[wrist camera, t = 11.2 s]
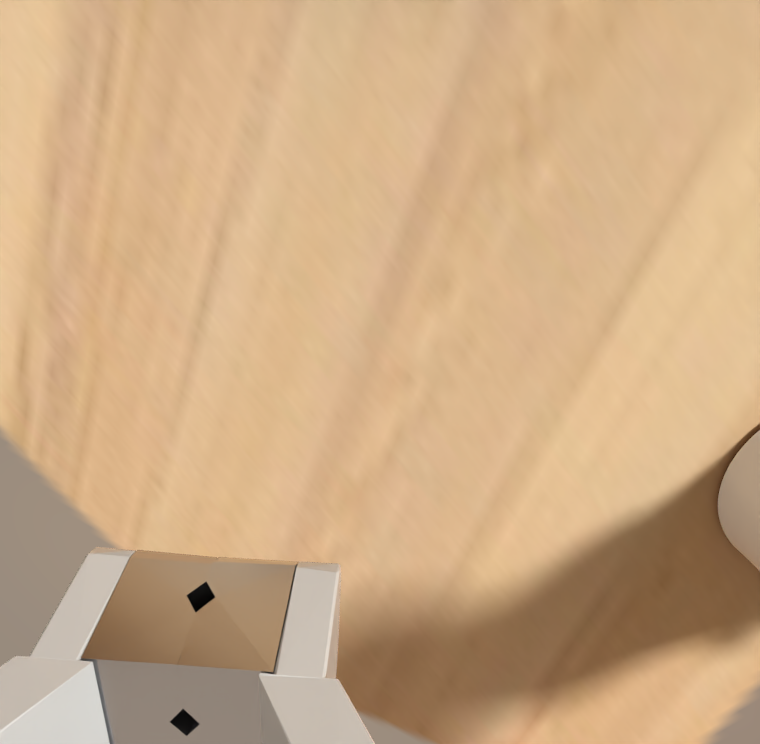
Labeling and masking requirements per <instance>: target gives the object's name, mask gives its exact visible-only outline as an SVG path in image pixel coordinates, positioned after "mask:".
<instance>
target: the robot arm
mask: <svg viewBox="0 0 760 744" xmlns="http://www.w3.org/2000/svg"><path fill="white" fill-rule="evenodd" d="M718 515H719V520H720V523H721V526H722V529H723V531H724V533H725V535H726V537H727V538H728V540H729V541H730V542H731V544H732V545H733V546H734V547H735V548H736V549H737V550H738V551H739V552H740V553H741V554H742V555H744V556H745V557H746V558H747V559H748V560H749V561H750V562H751V563H752V564H753V565H754V566H755V567H756V568H757V569H758V570H759V571H760V430H759V431H758V432H757V433H755V434H754V435H753V436H752V437H751V438H750V439H749V440H748V441H747V442H746V443H745V444H744V446H743V447H742V448H741V449H740V450H739V452H738V453H737V454H736V456H735V457H734V459H733V460H732V462H731V463H730V465H729V467H728V469H727V471H726V473H725V475H724V477H723V480H722V483H721V486H720V490H719V496H718ZM340 587H341V566H340V565H339V564H333V563H315V562H294V561H277V560H261V559H244V558H228V557H218V558H217V557H207V556H197V555H186V554H176V553H165V552H154V551H144V550H137V551H133V550H123V549H113V548H103V547H96V548H95V549H94V550H92V551H91V552H90V553H89V554H88V555H87V556H86V557H85V559H84V560H83V562H82V564H81V566H80V568H79V569H78V571H77V573H76V574H75V576H74V578H73V580H72V582H71V583H70V585H69V587H68V588H67V590H66V592H65V594H64V596H63V597H62V599H61V601H60V603H59V604H58V606H57V608H56V610H55V612H54V613H53V615H52V617H51V618H50V620H49V622H48V624H47V626H46V627H45V629H44V631H43V632H42V634H41V636H40V638H39V639H38V641H37V643H36V645H35V647H34V648H33V650H32V652H31V654H30V655H29V657H27V656H15V657H13V658H12V659H10V660H9V661H7V662H6V663H5V664H3V665H1V666H0V744H375V742H374V741H373V739H372V737H371V736H370V734H369V732H368V730H367V728H366V727H365V725H364V723H363V721H362V719H361V718H360V716H359V714H358V712H357V711H356V709H355V707H354V705H353V704H352V702H351V700H350V698H349V697H348V695H347V693H346V691H345V690H344V688H343V686H342V684H341V683H340V681H339V679H336V672H337V655H338V639H339V616H340Z"/></svg>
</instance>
